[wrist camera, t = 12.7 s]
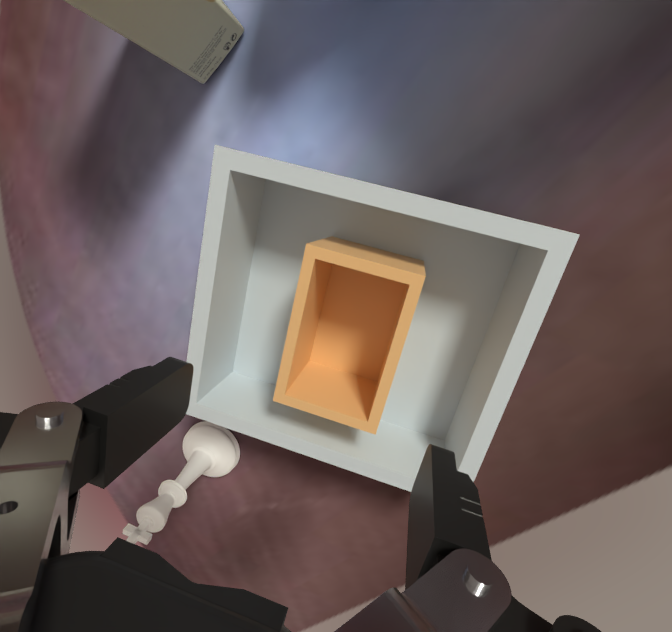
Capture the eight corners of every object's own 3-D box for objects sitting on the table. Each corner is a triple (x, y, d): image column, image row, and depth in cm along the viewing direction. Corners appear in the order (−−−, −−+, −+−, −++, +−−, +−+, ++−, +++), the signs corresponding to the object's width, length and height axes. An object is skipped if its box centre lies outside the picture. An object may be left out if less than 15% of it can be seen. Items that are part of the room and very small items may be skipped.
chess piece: (192, 412, 32) (96, 497, 22) (246, 434, 31) (171, 531, 22) (181, 459, 33) (87, 557, 24) (233, 481, 33) (158, 591, 23)
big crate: (539, 228, 23) (579, 234, 17) (452, 448, 28) (461, 509, 22) (260, 159, 25) (214, 144, 20) (224, 374, 30) (180, 411, 24)
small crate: (423, 260, 24) (425, 276, 18) (384, 386, 27) (375, 434, 21) (331, 236, 25) (306, 243, 19) (302, 361, 27) (272, 400, 22)
